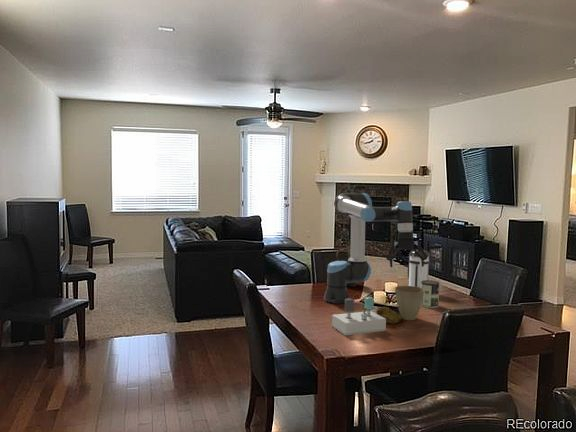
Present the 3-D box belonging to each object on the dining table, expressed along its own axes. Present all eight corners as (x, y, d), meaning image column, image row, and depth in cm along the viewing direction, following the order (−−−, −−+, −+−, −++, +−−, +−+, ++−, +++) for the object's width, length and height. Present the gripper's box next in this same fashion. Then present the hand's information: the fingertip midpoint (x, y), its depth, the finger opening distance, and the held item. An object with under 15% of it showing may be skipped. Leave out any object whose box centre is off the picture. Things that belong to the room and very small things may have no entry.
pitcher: (359, 288, 323) (360, 243, 320) (332, 284, 331) (334, 241, 329) (364, 285, 332) (365, 241, 330) (338, 281, 341) (339, 239, 338)
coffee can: (437, 304, 285) (438, 280, 284) (439, 308, 275) (440, 284, 274) (419, 302, 287) (420, 279, 286) (420, 307, 277) (421, 283, 276)
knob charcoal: (342, 318, 235) (343, 298, 234) (350, 318, 237) (351, 298, 236) (346, 321, 231) (347, 301, 230) (355, 320, 233) (355, 300, 232)
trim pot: (360, 319, 232) (360, 311, 232) (365, 318, 233) (365, 311, 233) (363, 320, 229) (363, 313, 229) (367, 320, 230) (368, 312, 230)
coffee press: (433, 290, 318) (434, 246, 316) (425, 295, 305) (427, 248, 302) (407, 287, 327) (409, 243, 325) (399, 291, 314) (401, 246, 311)
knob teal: (362, 316, 239) (363, 297, 238) (370, 316, 241) (370, 296, 240) (367, 319, 235) (367, 299, 234) (374, 318, 237) (375, 298, 236)
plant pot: (388, 316, 259) (389, 286, 257) (411, 313, 265) (412, 284, 263) (405, 324, 245) (406, 293, 244) (429, 321, 251) (430, 291, 250)
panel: (332, 326, 239) (332, 314, 238) (370, 322, 247) (371, 311, 246) (345, 335, 226) (345, 323, 225) (385, 330, 234) (386, 318, 233)
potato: (401, 326, 242) (402, 310, 241) (375, 323, 245) (376, 308, 244) (402, 321, 250) (402, 306, 249) (376, 319, 253) (377, 304, 252)
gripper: (380, 232, 244) (382, 274, 243) (431, 230, 239) (433, 273, 238) (380, 232, 251) (382, 273, 250) (430, 230, 246) (432, 272, 245)
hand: (407, 273), depth 244 cm, fingers open, 13 cm apart
